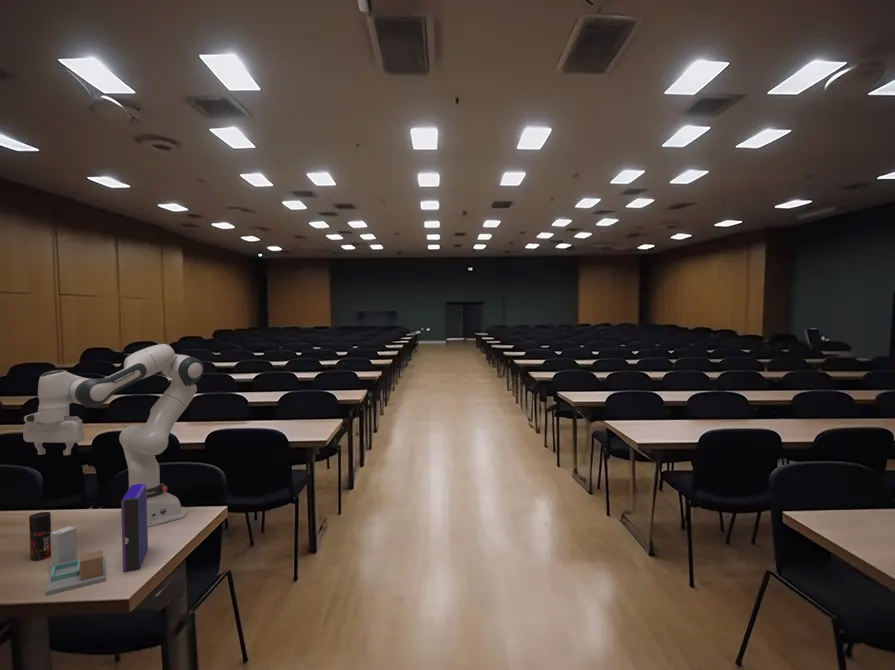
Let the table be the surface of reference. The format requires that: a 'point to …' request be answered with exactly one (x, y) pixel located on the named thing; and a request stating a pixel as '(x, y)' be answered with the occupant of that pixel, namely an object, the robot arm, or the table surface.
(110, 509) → the table surface
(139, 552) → the cereal box
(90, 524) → the table surface
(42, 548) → the deodorant
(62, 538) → the skincare box
